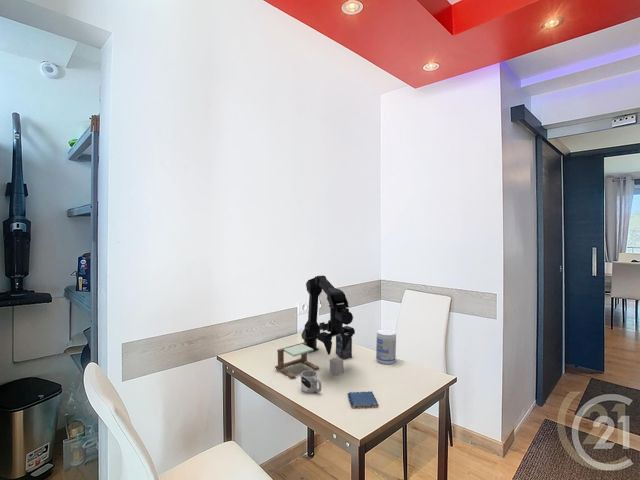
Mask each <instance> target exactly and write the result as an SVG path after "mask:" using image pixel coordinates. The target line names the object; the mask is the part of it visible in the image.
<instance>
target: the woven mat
mask: <svg viewBox="0 0 640 480" xmlns="http://www.w3.org/2000/svg"><path fill="white" fill-rule="evenodd" d="M347 397H348V402H349V403H350V407H351V409H353V410H354V409H357V410H358V409H372V408H374V409H375V408H378V409H379V406H380V405H379V403H378V400H377V398H376V397H375V395H374V392H373V391H369V390H368V391H352V392H351V391H349V392H347Z"/></svg>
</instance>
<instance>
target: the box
mask: <svg viewBox="0 0 640 480" xmlns="http://www.w3.org/2000/svg"><path fill="white" fill-rule="evenodd" d="M335 354H336V355H337V356H338V358H340V359H342V360H345V359H352V357H353V338H352V337H351V339H350V341H349V342H348V344H347V346H346V348H345V350H343V348H342V336H341V335H338V336H335Z"/></svg>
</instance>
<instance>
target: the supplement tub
mask: <svg viewBox="0 0 640 480" xmlns="http://www.w3.org/2000/svg"><path fill="white" fill-rule="evenodd" d="M375 350H376V351H375V352H376V355H375V359H376V361H377V362H378V363H380V364H384V365H392V364H394V363H396V358H397V357H396V356H397V355H396V354H397V332H396V331H395V330H392V329H388V328H386V329H384V328H383V329H379V330H377V331H376V349H375Z"/></svg>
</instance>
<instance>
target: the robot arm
mask: <svg viewBox="0 0 640 480" xmlns="http://www.w3.org/2000/svg"><path fill="white" fill-rule="evenodd" d="M305 287H306V291H307V293H308V294H309V298H308V314H307V317H308V318H307V321H306V323H305V324H304V329H303V331H302V332H301V334H300V335H301V340H303V342H306V343H307V346H308V347H310V348H312V349H313V351H311V352H314V351H318V350H319V348H318V347H317V345H318V344H317V342H318V341H319V342H320V343H323V345H324V348H325V350H326V351H325V352H326V353H327V355H329V356H330V355H331V351H332V348H333V347H332V345H333V338H334V337H336V336H338V335H341V336H342V348H343V350H345V348H346V346H347V344H348V342H349V341H350V339H351V338H352V337H353V336H354V335H355V334H356V330H355V328H354V327H351V326H349V325H350V324H351V323H352V322H353V320H354V316H353V314H352V312H350V309H349V307H350V306H349V302H348V299H347V297H346V294H345V291H343V290H341V289H339V288H337V287H335V286H333V284H332V283H331V282H330V281H329V280H328V278H327V277H326V275H324V274H323V275H316V276H315V277H312V278H310V279H308V280H307V281H306V283H305ZM322 292H324V293H325V294H326V296H327V297H326V300H327V301H328V307H329V308H330V309H329V313H330V314H329V320H328V321H327V323H325V322H324V321H323V322H319V324H318V310H319V307H318V306H319V296H320V295H321V293H322ZM343 325H345V326H343ZM321 331H322V332H321ZM311 352H310V353H311Z"/></svg>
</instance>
